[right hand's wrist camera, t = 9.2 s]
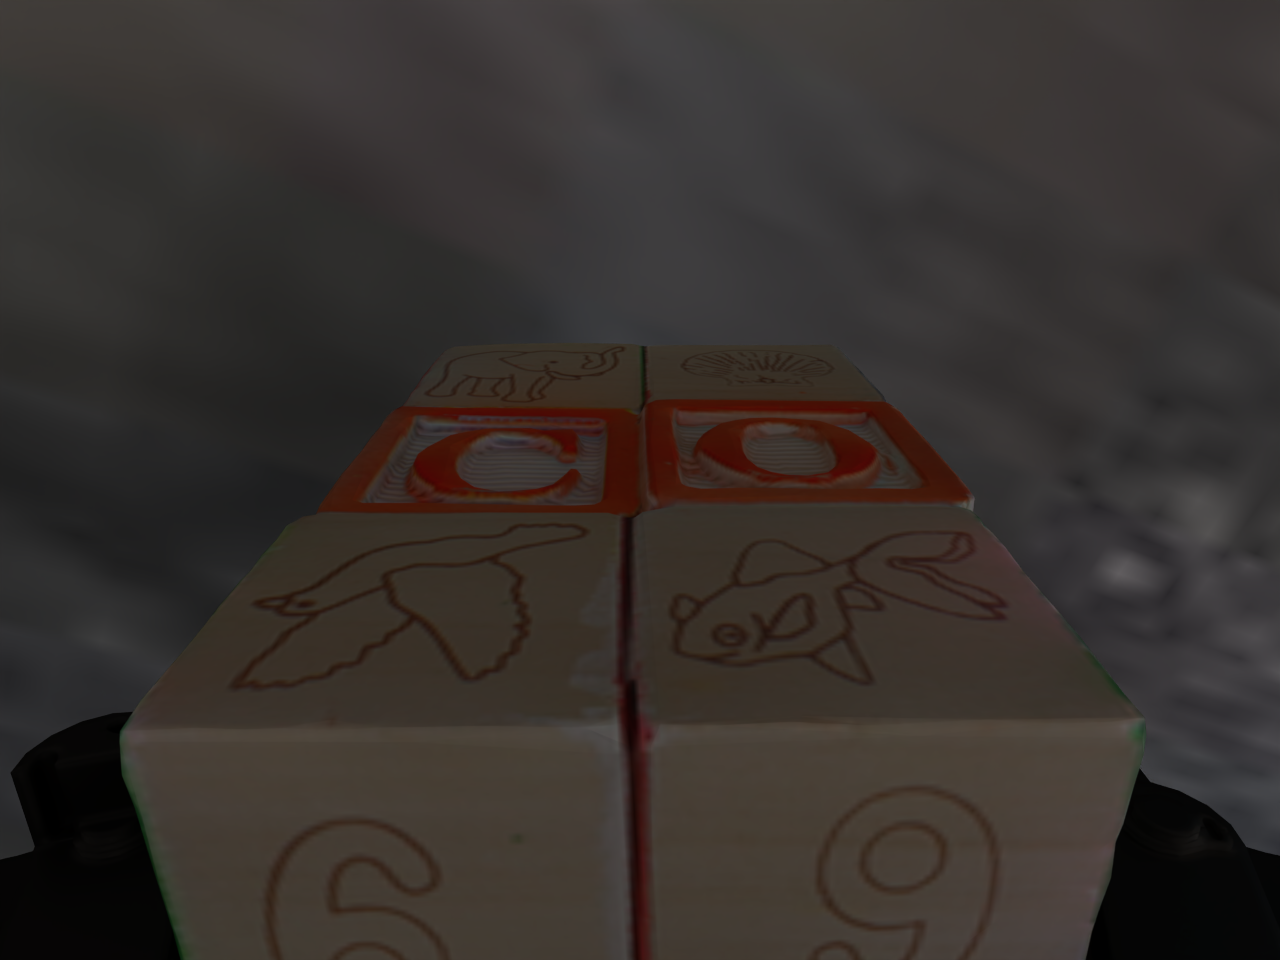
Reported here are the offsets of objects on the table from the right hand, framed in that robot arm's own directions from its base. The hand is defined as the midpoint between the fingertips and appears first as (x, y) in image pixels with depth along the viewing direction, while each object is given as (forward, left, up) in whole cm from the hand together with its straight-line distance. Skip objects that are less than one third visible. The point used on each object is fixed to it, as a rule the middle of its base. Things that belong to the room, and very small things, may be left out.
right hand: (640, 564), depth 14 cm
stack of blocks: (+6, +3, -1) cm, 7 cm away
